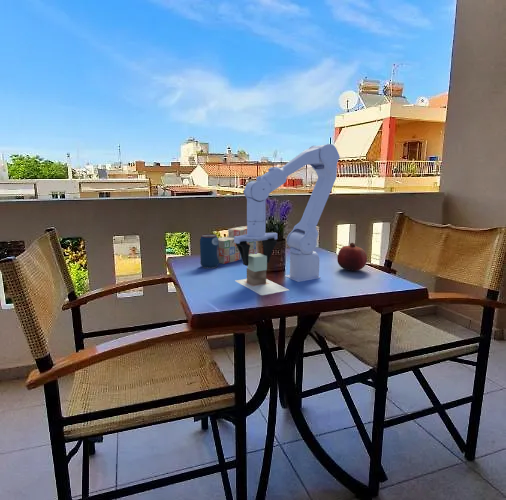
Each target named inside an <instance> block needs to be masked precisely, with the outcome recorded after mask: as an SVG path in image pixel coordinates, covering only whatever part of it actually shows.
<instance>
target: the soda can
mask: <svg viewBox="0 0 506 500" xmlns="http://www.w3.org/2000/svg"><path fill="white" fill-rule="evenodd" d="M218 238H219V237H218V235H217V234H216V233H215V234H214V233H206V234H201V237H200V239H199V255H200V256H199V257H200V259H199V260H200V265H201V267H202V268H204V269H215V268H217V267H218V266H219V264H220V263H219V242H218Z"/></svg>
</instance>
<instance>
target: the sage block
mask: <svg viewBox="0 0 506 500" xmlns="http://www.w3.org/2000/svg"><path fill="white" fill-rule="evenodd" d="M247 269H249V270H251V271H254V272H257V271H263V270H266V271H267V270H268V263H267V256H266V255H264V253H259V252H258V253H257V254H250V255H249V263H248V266H246V270H247Z"/></svg>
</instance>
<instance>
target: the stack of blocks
mask: <svg viewBox="0 0 506 500" xmlns="http://www.w3.org/2000/svg"><path fill="white" fill-rule="evenodd" d="M227 231H228V232H227V233H228V234H227V235H228V236H224V237H223V236H222V237H217V238H218V242H219V264H223V265H225V264H228V263H233V262H237V261H240V260H241V261H242V257H241V254H240V252H239V250H238V248H237V246H236V243H234V236H240V235H246V234H247V225H245V226H242V225H241V226H238V227H237V226H236V227H233V228H228V229H227ZM247 243H248V245H250V249H249V255H250V254H255V252H256V241H252V242H247Z"/></svg>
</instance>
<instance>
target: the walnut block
mask: <svg viewBox="0 0 506 500" xmlns="http://www.w3.org/2000/svg"><path fill="white" fill-rule="evenodd" d="M246 279H247V282H248V283H250V284H252V285H259V284H265V283H266V279H267V270H263V271H257V272H254V271H251V270H249V269H247V268H246Z"/></svg>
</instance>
